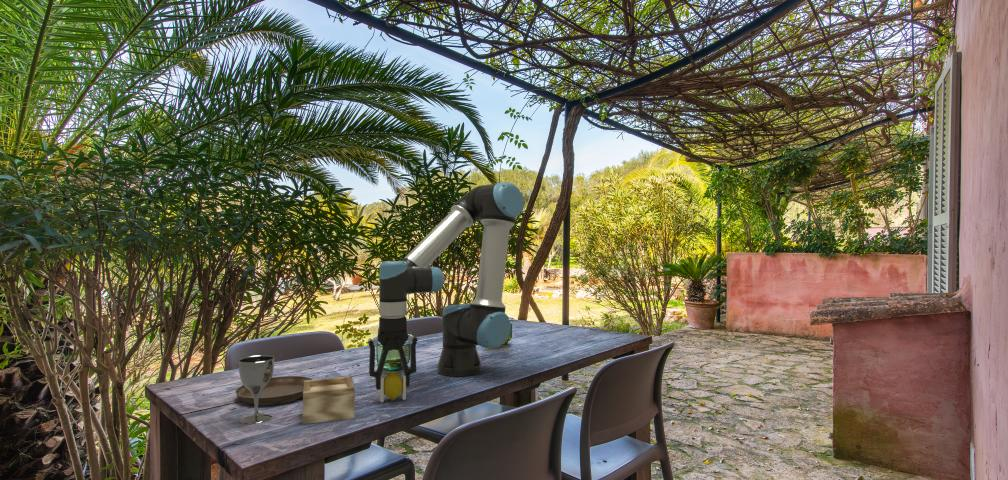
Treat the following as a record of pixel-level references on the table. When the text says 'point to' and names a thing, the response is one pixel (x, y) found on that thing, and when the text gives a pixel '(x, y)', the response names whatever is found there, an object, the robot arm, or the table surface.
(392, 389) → the lemon
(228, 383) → the table surface
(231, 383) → the table surface
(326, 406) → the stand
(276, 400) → the plant saucer
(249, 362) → the wine glass
